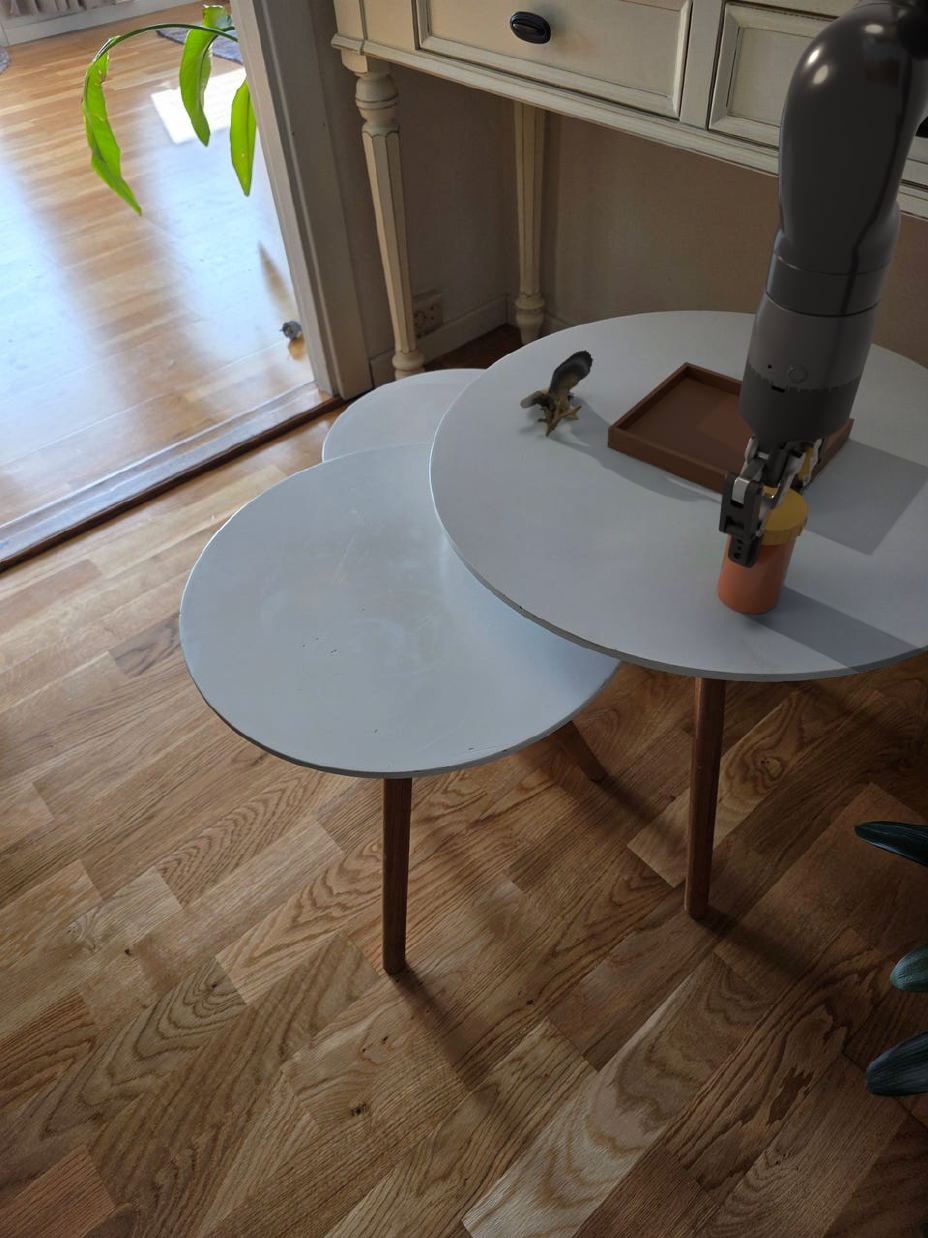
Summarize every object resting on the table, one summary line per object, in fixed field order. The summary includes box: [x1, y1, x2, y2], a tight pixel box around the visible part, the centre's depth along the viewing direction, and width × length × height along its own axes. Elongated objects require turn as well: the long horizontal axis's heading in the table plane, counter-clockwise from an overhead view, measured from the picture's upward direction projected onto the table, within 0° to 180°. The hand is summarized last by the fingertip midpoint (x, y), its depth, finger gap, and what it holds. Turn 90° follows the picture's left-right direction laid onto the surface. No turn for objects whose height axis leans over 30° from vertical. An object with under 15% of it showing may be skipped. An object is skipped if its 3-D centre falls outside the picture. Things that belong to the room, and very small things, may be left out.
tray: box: [606, 361, 855, 494], centre depth 89 cm, size 19×15×2 cm
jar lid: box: [759, 486, 809, 545], centre depth 69 cm, size 6×6×2 cm
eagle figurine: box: [519, 350, 594, 437], centre depth 93 cm, size 8×7×9 cm
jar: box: [716, 534, 798, 615], centre depth 72 cm, size 5×5×9 cm
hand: (760, 539), depth 71 cm, fingers closed on jar lid, 6 cm apart
